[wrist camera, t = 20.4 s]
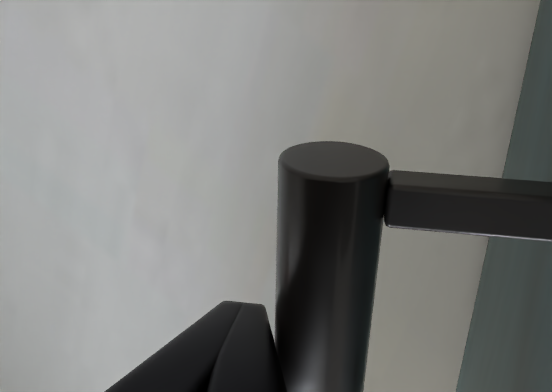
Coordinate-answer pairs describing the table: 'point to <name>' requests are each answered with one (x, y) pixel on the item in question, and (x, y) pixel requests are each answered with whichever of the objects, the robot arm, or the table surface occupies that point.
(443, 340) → the table surface
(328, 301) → the drawer
